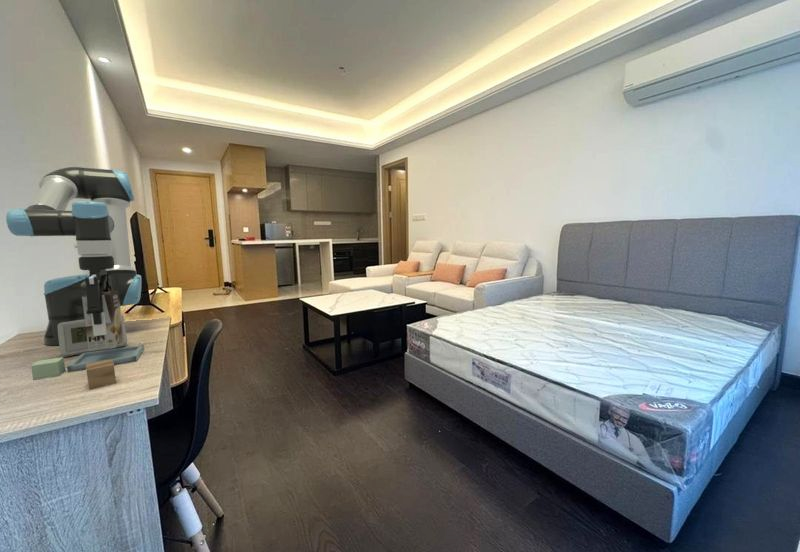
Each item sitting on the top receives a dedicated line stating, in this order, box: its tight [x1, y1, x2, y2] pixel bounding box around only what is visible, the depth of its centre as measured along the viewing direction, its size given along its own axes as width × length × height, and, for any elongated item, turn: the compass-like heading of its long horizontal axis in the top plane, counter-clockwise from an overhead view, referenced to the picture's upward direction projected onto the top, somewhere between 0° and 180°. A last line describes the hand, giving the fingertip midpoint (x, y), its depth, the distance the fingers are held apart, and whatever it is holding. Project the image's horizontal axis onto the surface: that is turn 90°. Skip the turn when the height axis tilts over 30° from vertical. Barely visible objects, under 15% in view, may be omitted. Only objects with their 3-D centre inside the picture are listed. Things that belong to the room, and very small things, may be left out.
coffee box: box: [82, 290, 124, 351], centre depth 97 cm, size 9×6×16 cm
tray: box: [66, 344, 145, 373], centre depth 99 cm, size 12×15×2 cm
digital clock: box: [58, 314, 128, 358], centre depth 107 cm, size 16×9×11 cm, turn 122°
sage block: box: [30, 356, 66, 381], centre depth 88 cm, size 4×5×4 cm
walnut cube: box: [85, 360, 117, 390], centre depth 83 cm, size 5×5×5 cm
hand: (105, 330), depth 98 cm, fingers closed on coffee box, 9 cm apart
